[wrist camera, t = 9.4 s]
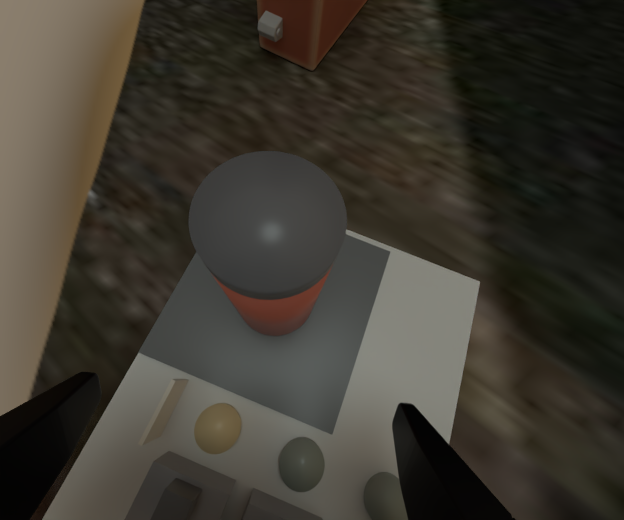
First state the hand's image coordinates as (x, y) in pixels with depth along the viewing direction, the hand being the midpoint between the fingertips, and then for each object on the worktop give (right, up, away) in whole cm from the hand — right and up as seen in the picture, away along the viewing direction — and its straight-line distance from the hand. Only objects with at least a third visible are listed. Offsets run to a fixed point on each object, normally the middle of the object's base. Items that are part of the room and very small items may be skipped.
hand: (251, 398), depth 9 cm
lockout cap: (0, +2, +9) cm, 9 cm away
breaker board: (+1, -3, +9) cm, 9 cm away
